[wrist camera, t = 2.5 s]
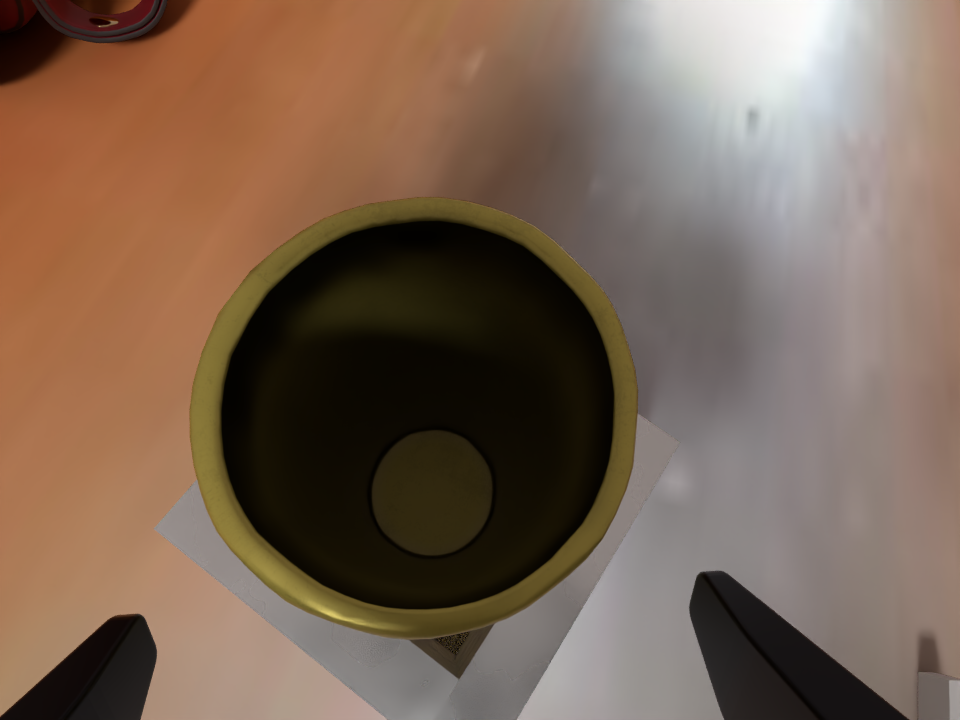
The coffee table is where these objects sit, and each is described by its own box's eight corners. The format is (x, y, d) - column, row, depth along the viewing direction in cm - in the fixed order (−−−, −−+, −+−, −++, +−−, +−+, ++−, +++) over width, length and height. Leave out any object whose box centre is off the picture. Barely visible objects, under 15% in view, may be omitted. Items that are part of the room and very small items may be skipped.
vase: (501, 396, 21) (612, 141, 8) (533, 567, 19) (753, 625, 6) (336, 422, 21) (139, 190, 7) (355, 602, 19) (139, 760, 5)
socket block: (467, 743, 18) (474, 789, 14) (203, 530, 19) (154, 528, 16) (641, 458, 21) (680, 442, 18) (404, 293, 22) (398, 249, 19)
